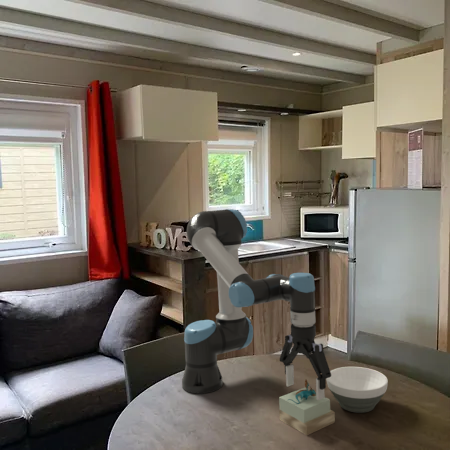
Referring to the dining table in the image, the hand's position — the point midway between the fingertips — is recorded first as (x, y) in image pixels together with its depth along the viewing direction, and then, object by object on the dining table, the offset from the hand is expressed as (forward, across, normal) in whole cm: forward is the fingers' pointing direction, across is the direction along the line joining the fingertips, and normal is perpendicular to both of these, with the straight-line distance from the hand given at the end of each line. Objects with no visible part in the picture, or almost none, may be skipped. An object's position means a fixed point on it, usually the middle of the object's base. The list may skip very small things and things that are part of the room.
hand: (304, 391), depth 150 cm
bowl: (+10, +4, +20) cm, 23 cm away
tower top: (+6, 0, 0) cm, 6 cm away
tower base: (+10, 0, 0) cm, 10 cm away
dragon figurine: (+2, 0, -1) cm, 2 cm away
